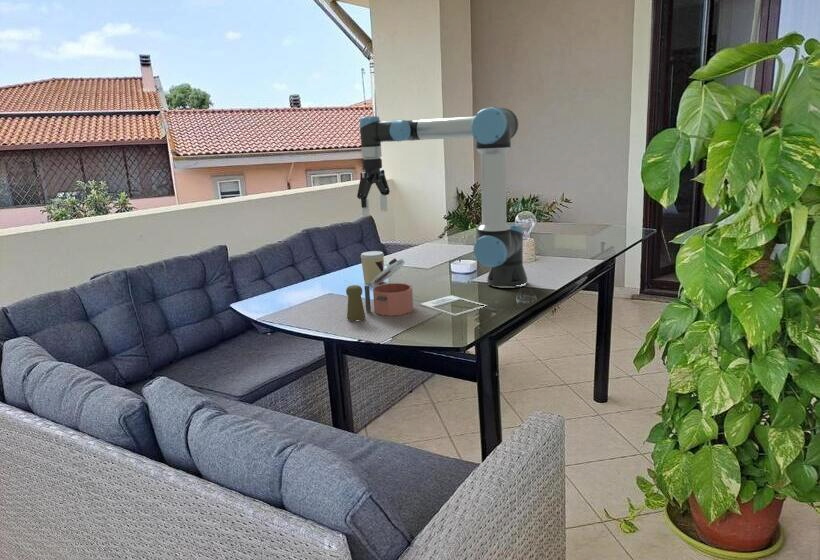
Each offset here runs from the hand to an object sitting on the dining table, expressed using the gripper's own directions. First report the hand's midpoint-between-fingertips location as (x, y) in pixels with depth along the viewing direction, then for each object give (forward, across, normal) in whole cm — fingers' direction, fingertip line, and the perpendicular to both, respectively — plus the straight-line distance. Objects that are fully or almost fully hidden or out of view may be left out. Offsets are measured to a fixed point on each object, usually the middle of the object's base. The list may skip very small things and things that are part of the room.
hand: (375, 213), depth 224 cm
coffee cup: (+28, 0, -3) cm, 28 cm away
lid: (+16, +31, +23) cm, 41 cm away
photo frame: (+29, +20, +41) cm, 54 cm away
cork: (+28, +43, +17) cm, 54 cm away
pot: (+28, +31, +24) cm, 48 cm away
